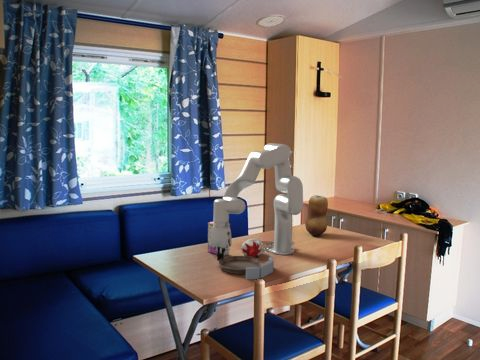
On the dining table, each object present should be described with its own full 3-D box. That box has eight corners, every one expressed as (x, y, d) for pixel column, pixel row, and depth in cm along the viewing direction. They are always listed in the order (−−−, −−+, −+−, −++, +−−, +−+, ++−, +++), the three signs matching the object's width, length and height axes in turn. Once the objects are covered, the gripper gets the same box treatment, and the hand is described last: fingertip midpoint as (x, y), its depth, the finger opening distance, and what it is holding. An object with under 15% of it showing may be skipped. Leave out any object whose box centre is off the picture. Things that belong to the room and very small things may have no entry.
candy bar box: (207, 252, 232) (207, 222, 230) (213, 250, 236) (213, 220, 233) (222, 256, 225) (223, 226, 223) (229, 254, 229) (229, 224, 226)
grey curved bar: (269, 266, 211) (269, 256, 211) (278, 268, 208) (279, 258, 208) (244, 279, 194) (244, 268, 193) (254, 281, 191) (254, 270, 190)
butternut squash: (326, 238, 263) (328, 198, 260) (303, 237, 266) (305, 197, 263) (326, 233, 276) (328, 194, 273) (305, 231, 279) (307, 193, 276)
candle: (259, 250, 235) (265, 263, 220) (238, 251, 233) (243, 263, 218) (260, 235, 232) (266, 246, 218) (239, 235, 230) (244, 247, 216)
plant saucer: (210, 266, 210) (210, 260, 210) (243, 258, 223) (243, 252, 222) (235, 279, 194) (235, 272, 193) (270, 270, 207) (270, 263, 206)
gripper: (237, 225, 211) (236, 261, 214) (214, 220, 220) (213, 255, 222) (228, 228, 205) (227, 265, 208) (204, 223, 214) (203, 258, 216)
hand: (220, 260), depth 215 cm, fingers closed
